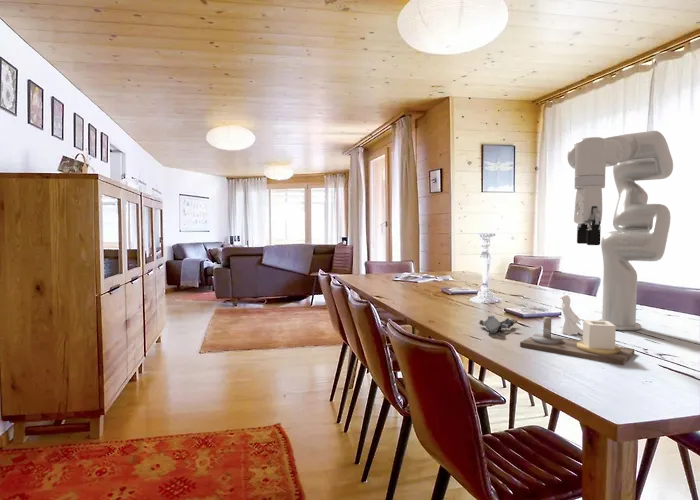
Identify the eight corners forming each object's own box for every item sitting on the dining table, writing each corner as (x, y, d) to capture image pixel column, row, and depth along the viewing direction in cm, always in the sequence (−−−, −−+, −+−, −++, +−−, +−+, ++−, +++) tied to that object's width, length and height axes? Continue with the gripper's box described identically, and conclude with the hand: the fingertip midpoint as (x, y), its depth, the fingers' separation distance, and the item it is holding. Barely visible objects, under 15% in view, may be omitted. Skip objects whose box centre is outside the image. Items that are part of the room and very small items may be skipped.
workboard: (537, 337, 135) (537, 312, 135) (634, 353, 118) (635, 324, 118) (520, 346, 126) (520, 319, 125) (622, 365, 109) (623, 333, 108)
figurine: (559, 329, 145) (560, 292, 144) (587, 332, 142) (588, 294, 141) (559, 335, 138) (560, 296, 138) (588, 337, 135) (589, 298, 134)
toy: (520, 322, 148) (513, 325, 135) (491, 339, 152) (481, 342, 139) (509, 304, 150) (500, 305, 137) (480, 321, 154) (469, 323, 141)
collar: (582, 341, 122) (583, 320, 121) (607, 343, 120) (607, 321, 120) (589, 347, 116) (589, 324, 116) (614, 349, 115) (615, 326, 114)
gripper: (567, 185, 135) (565, 242, 136) (583, 180, 118) (582, 245, 119) (594, 185, 134) (593, 243, 135) (615, 179, 117) (613, 245, 118)
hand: (587, 244), depth 127 cm, fingers open, 9 cm apart
